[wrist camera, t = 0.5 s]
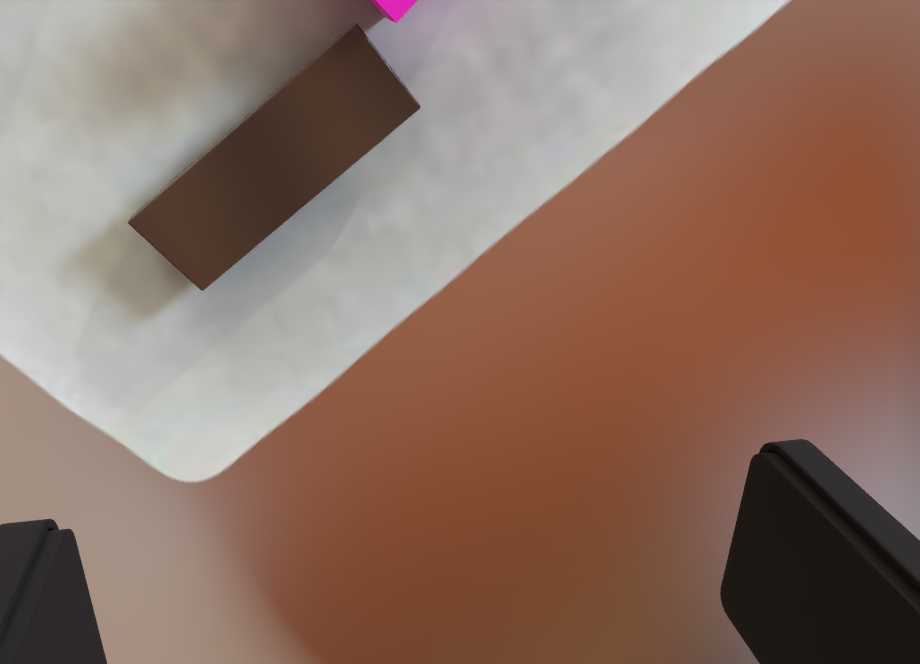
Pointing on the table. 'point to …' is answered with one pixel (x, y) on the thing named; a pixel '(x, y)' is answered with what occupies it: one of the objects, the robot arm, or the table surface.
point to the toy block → (393, 8)
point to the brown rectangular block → (276, 159)
